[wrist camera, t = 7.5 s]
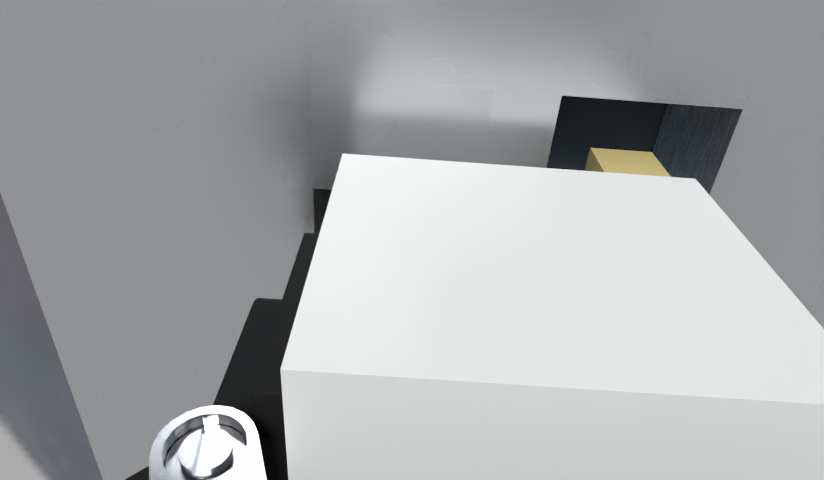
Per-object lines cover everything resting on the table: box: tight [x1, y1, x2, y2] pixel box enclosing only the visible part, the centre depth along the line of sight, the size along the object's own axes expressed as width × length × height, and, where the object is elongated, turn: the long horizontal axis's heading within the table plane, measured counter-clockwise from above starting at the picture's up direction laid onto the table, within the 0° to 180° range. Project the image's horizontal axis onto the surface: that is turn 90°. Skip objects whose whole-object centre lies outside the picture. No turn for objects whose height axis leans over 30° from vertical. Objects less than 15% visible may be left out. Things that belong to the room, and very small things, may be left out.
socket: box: [0, 0, 824, 480], centre depth 13 cm, size 20×20×4 cm
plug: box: [280, 148, 824, 480], centre depth 10 cm, size 6×6×8 cm
